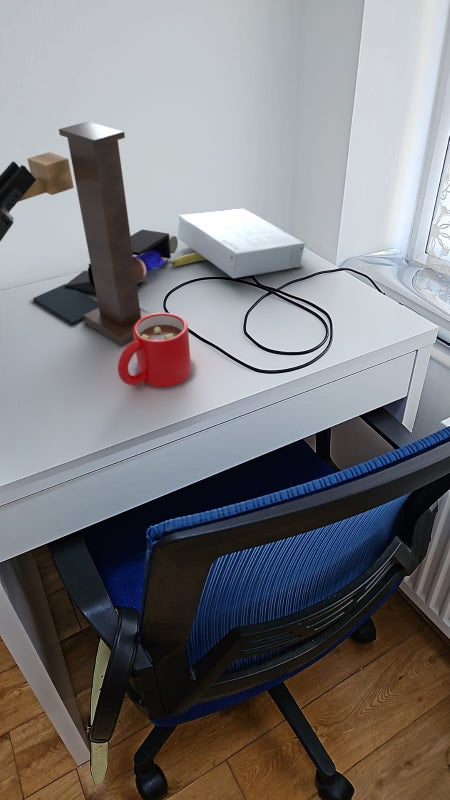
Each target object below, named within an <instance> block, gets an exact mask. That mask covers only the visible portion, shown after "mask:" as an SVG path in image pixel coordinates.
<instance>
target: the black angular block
mask: <svg viewBox="0 0 450 800" xmlns="http://www.w3.org/2000/svg"><path fill="white" fill-rule="evenodd" d="M65 284H66V285H65V287H67V288H71V289H76V290H77V291H80V292H86V293H91V294H95V295H96V290H95V285H94V279H93V274H92V269H91V263H90V262H89V263H88V267H87V270H83V271H82V272H80V273H79V274H78V275H76V276H75V277H73V279H71V280H70V281H68V282H67V283H65ZM142 284H143V281H141V282H139V283H137V289H138V288H139V287H140V286H142Z"/></svg>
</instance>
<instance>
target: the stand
mask: <svg viewBox="0 0 450 800" xmlns="http://www.w3.org/2000/svg"><path fill="white" fill-rule="evenodd" d="M58 133H59V135H60V136H62V137H63V138H67V142H68V143H67V144H68V148H69V149H68V150H69V155H70V160H71V165H72V170H73V176H74V182H75V187H76V191H77V198H78V203H79V204H78V205H79V208H80V215H81V220H82V224H83V231H84V236H85V240H86V246H87V251H88V257H89V263H91V269H92V274H93V279H94V285H95V290H96V294H95V296H96V301H97V302H98V306H99V308H97V309H95V310H93V311H91V312H89V313H87V314H85V315H83V317H84V320H83V321H84V324H86V325H87V326H89V327H90V328H92V329H93V330H96V331H97V332H99V333H101V334H102V335H104V336H105V337H107V338H108V339H110V340H112V341H114V342H115V343H117V344H119V345H120V346H124V345H125V344H127V343H129V342H132V341H134V336H133V326H134V325H135V323H136V322H137V321H138V320H139V319H141V318H143V317H145V316H147V315H150V314H152V313H151V312H149V311H148V310H145V309H144V308H141V306H140V299H139V298H140V297H139V290H138V288H137V282H136V275H135V267H134V259H133V257H134V255H133V252H132V244H131V237H130V236H131V229H130V223H129V215H128V207H127V199H126V193H125V185H124V184H125V183H124V177H123V169H122V161H121V154H120V146H119V140H123V139H125V138H126V135H125V132H124V131H123V130H118V129H116V128H112V127H109V126H105V125H102V124H99V123H96V122H91V121H84V122H81V123H76V124H73V125H70V126H66V127H62V128H59V129H58Z"/></svg>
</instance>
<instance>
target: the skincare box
mask: <svg viewBox="0 0 450 800" xmlns="http://www.w3.org/2000/svg"><path fill="white" fill-rule="evenodd" d="M177 225H178V226H177V240H180V241H181V242H182V243H184V244H185V245H186V246H187V247H189V248H190V249H192V250H193V251H195V253H199V254H200V255H202V256H203V257H205V258H206V259H207V260H206V261H209V262H210V263H211V264H213V265H214V266H216V267H217V269H220V270H221V271H223V272H224V273H226V275H228V276H230V277H231V278H232V279H238V278H244V277H249V276H255V275H256V276H257V275H261V274H267V273H272V272H273V273H274V272H279V271H285V270H291V269H296V268H301V264H302V260H303V254H304V249H305V245H306V244H305V242H303V241H301V240H300V239H298V238H296V237H295V236H293V235H291V234H290V233H288V232H286V231H285V230H282V229H280V228H279V227H277V226H275V225H273V224H272V223H270V222H269V221H266V220H265V219H263V218H261V217H259V216H258V215H256V214H254V213H252V212H251V211H249V210H247V209H245V208H237V209H227V210H219V211H208V212H198V213H189V214H179V215H178V224H177Z"/></svg>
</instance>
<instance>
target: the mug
mask: <svg viewBox="0 0 450 800" xmlns="http://www.w3.org/2000/svg"><path fill="white" fill-rule="evenodd" d="M133 336H134V339H133V340H132V341H130V343H129V344H128V345H127V346H126V347H125V348H124V349H123V351H122V352H121V354H120V356H119V358H118V364H117V374H118V377H119V379H120V380H121V381H122V382H123V383H124V384H126V385H128V386H138V385H140V384H143V383H145V384H147V385H149V386H152V387H157V388H168V387H169V388H170V387H173V386H176V385H179V384H181V383H183V382H184V381H185V380H187V379H188V378H189V376H190V375H191V371H192V364H191V351H190V350H191V349H190V337H189V325H188V322H187V321H186V320H185V318H184V317H182V316H180V315H178V314H175V313H171V312H155V313H151V314H150V315H147V316H145V317H143V318H141V319H139V320H138V321H137V322H136V323H135V325H134V326H133ZM134 355H135V356H136V363H137V370H138V373H137V374H134V375H133V374H130V372H129V364H130V362H131V359H132V357H133V356H134Z"/></svg>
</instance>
